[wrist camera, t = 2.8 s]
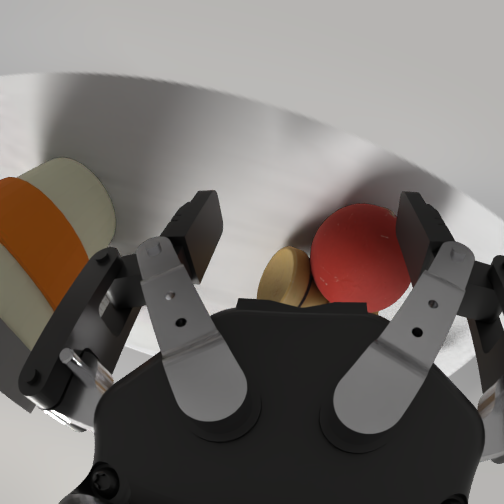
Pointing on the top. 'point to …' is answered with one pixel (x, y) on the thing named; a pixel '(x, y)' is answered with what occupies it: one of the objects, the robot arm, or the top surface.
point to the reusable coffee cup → (44, 253)
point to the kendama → (342, 263)
